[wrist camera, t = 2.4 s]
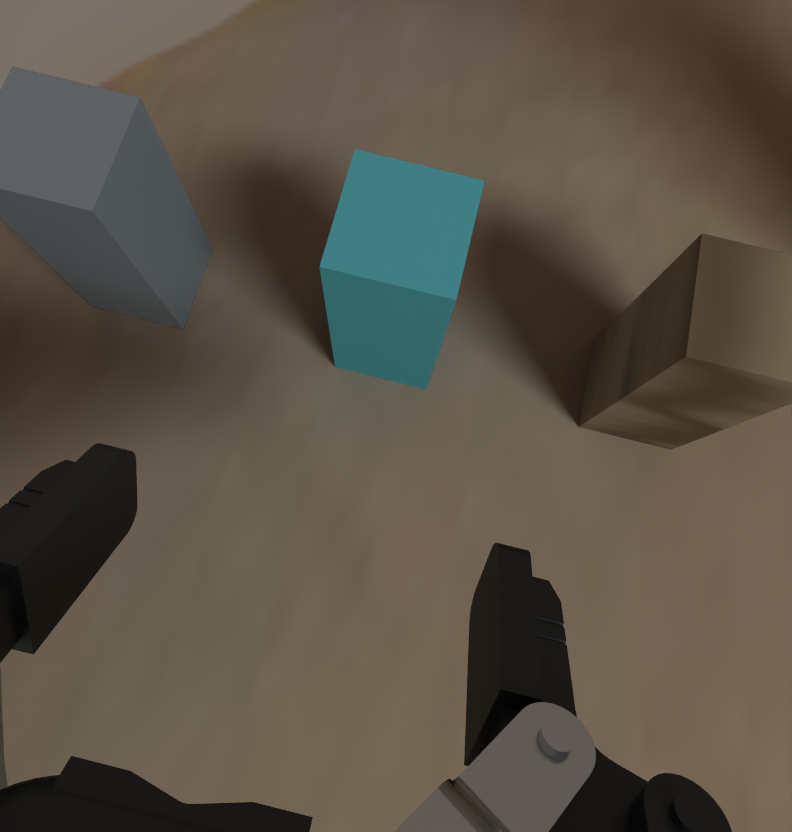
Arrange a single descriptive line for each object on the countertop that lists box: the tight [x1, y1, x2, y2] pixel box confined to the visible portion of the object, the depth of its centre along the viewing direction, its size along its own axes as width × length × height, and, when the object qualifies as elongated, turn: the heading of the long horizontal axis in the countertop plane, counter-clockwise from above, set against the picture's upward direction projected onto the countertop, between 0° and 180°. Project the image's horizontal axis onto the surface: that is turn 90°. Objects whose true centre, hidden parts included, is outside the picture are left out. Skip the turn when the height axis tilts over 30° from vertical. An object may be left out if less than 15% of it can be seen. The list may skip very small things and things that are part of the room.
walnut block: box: [579, 234, 792, 449], centre depth 25 cm, size 4×4×10 cm
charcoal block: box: [0, 67, 213, 329], centre depth 25 cm, size 4×4×10 cm
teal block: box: [319, 149, 484, 389], centre depth 25 cm, size 4×4×10 cm
